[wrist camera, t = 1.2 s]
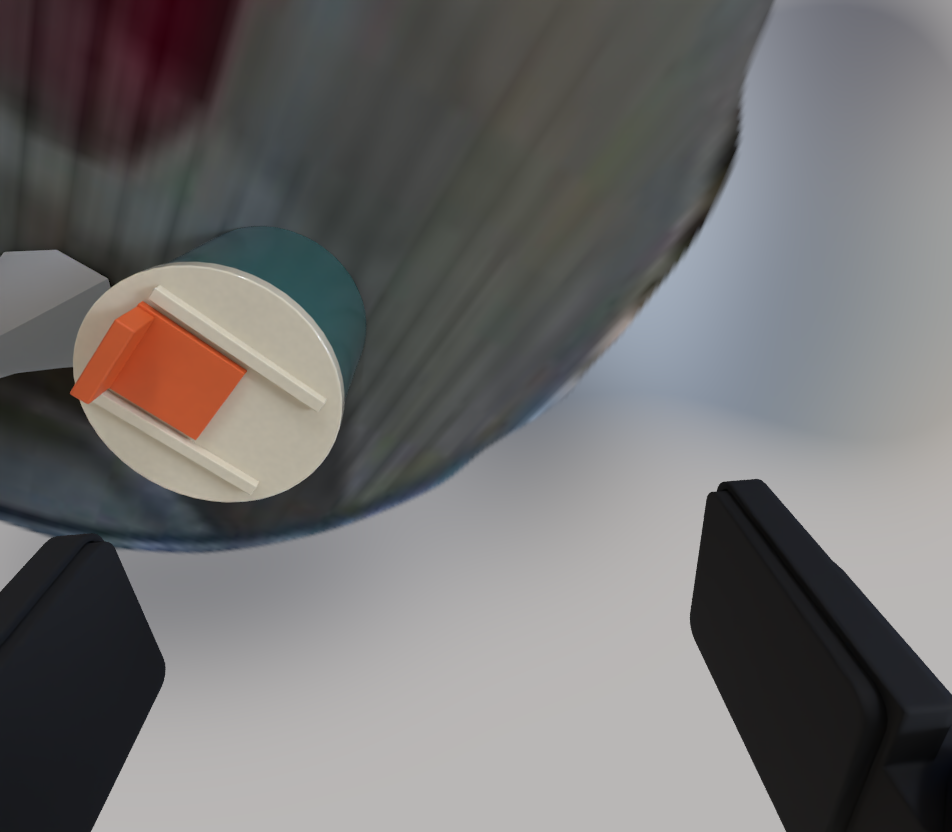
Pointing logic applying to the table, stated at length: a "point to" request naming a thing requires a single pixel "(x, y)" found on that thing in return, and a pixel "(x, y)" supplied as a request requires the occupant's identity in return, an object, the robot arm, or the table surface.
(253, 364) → the sliding lid canister
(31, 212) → the table surface
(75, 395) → the slider
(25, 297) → the flask
